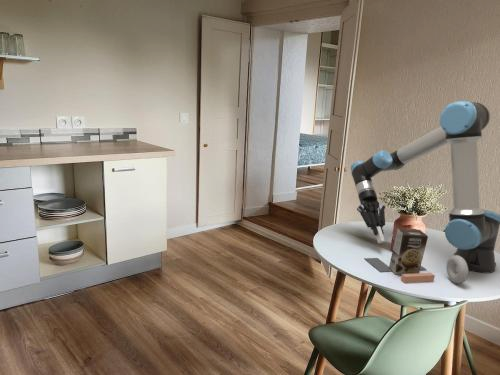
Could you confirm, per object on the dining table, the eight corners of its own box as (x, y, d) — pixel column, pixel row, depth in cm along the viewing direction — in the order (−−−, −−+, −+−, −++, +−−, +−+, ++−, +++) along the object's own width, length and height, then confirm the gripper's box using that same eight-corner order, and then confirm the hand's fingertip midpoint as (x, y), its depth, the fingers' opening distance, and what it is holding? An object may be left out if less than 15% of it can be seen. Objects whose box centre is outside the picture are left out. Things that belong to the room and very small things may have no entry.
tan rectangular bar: (429, 279, 143) (431, 272, 142) (433, 281, 141) (434, 275, 140) (400, 280, 140) (401, 274, 139) (404, 283, 138) (405, 276, 137)
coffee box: (395, 275, 144) (403, 234, 139) (388, 266, 150) (396, 227, 145) (419, 276, 144) (428, 236, 140) (411, 267, 150) (420, 229, 146)
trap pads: (407, 257, 161) (407, 256, 161) (426, 270, 150) (426, 269, 150) (364, 259, 157) (364, 258, 157) (380, 272, 145) (380, 271, 145)
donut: (442, 275, 146) (447, 250, 144) (451, 275, 147) (456, 251, 144) (458, 288, 137) (463, 262, 134) (467, 288, 137) (473, 262, 135)
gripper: (375, 197, 179) (390, 245, 167) (349, 197, 176) (363, 246, 164) (383, 188, 173) (400, 238, 161) (356, 188, 170) (371, 238, 158)
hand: (381, 242), depth 163 cm, fingers closed
